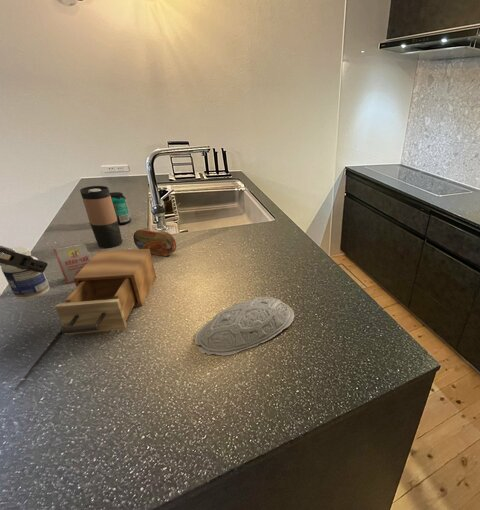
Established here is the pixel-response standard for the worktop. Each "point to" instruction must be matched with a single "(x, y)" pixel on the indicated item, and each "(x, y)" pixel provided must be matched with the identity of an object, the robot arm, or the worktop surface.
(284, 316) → the turtle shell
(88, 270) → the cabinet
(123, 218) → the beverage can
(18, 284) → the pill bottle
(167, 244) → the tin
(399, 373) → the worktop surface
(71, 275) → the white cardboard box
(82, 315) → the drawer
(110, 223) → the travel mug
